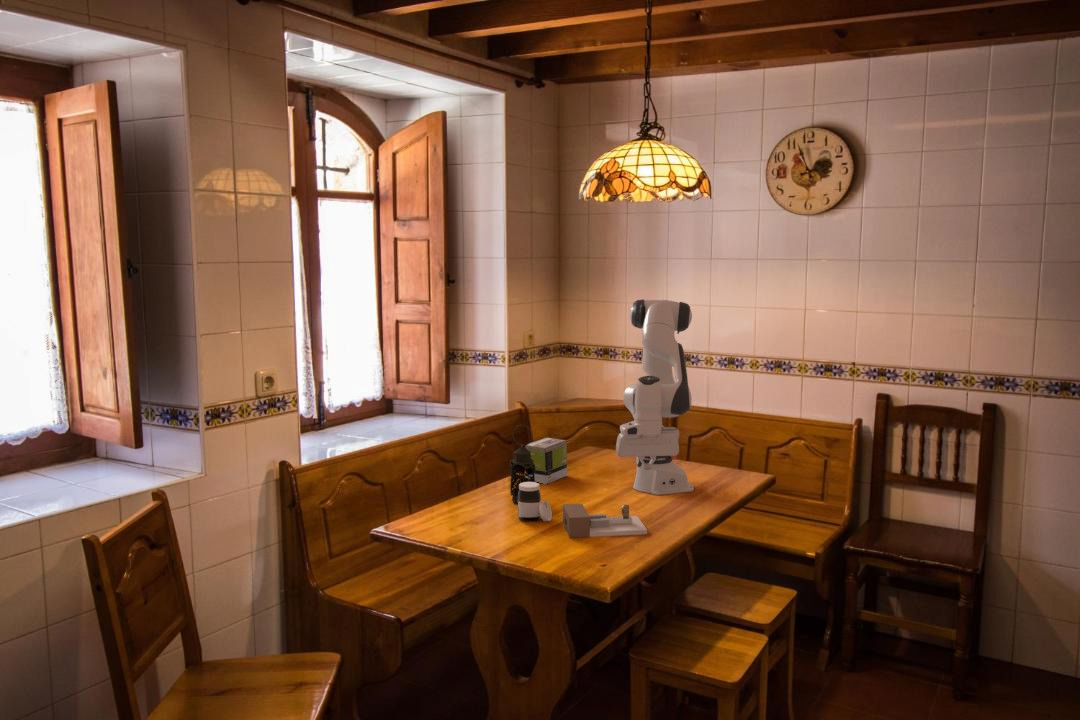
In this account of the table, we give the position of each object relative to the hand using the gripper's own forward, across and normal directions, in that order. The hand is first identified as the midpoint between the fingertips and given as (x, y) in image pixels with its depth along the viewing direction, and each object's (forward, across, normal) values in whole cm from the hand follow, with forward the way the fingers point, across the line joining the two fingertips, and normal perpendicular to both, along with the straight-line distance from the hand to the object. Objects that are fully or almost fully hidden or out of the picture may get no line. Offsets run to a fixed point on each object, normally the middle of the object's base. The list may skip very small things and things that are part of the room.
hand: (647, 469), depth 279 cm
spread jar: (+20, +35, -13) cm, 42 cm away
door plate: (+19, +14, 0) cm, 24 cm away
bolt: (+18, +10, 0) cm, 20 cm away
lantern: (+20, +37, -33) cm, 53 cm away
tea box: (+19, +25, -61) cm, 69 cm away
